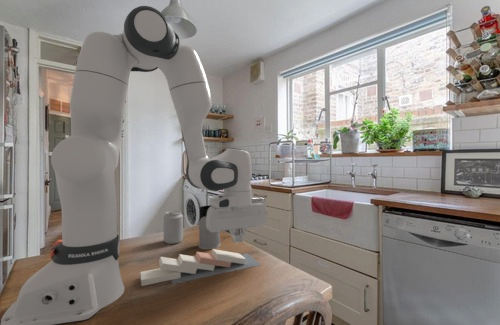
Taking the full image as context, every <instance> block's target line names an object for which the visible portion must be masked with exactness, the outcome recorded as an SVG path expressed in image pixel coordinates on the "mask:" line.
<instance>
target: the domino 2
mask: <svg viewBox="0 0 500 325" xmlns="http://www.w3.org/2000/svg"><path fill="white" fill-rule="evenodd" d="M158 264H159V268H160V269H162V270H170V271H177V272H184V273H191V274H196V270H197V268H190V267H183V266H181V265H180V263H179V261H178V258H171V257H167V256H166V257H165V256H160V257H159V260H158Z"/></svg>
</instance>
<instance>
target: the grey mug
mask: <svg viewBox="0 0 500 325" xmlns="http://www.w3.org/2000/svg"><path fill="white" fill-rule="evenodd" d="M210 206H211V205H210V204H209V205H202V206H200V207H199V219H198V223H199V224H198V229H199V230H198V232H199V234H198V238H199V239H198V241H199V242H198V248H199V249H201V250H212V249H218V248H220V247H221V231H218V232H210V231H209V230H208V229H207V228H206V217H207V211H208V209H209V207H210Z"/></svg>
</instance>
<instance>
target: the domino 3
mask: <svg viewBox="0 0 500 325" xmlns="http://www.w3.org/2000/svg"><path fill="white" fill-rule="evenodd" d="M177 259H178V261H179V263H180V265H181V266H183V267H190V268H197V269H204V270H211V271H214V267H215V265H209V264H202V263H199V262H198V260H197V259H196V258H195V256H194V255H188V254H187V255H186V254H182V253H179V254H178V257H177Z"/></svg>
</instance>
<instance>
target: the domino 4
mask: <svg viewBox="0 0 500 325" xmlns="http://www.w3.org/2000/svg"><path fill="white" fill-rule="evenodd" d="M194 257H195V258H196V259H197V260H198V262H199V263H202V264H209V265H216V266H223V267H230V265H231V262H227V261H220V260H216V259H215V258H214V257H213V256H212V255H211V253H208V252H203V251H202V252H201V251H196V253H195V256H194Z"/></svg>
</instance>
